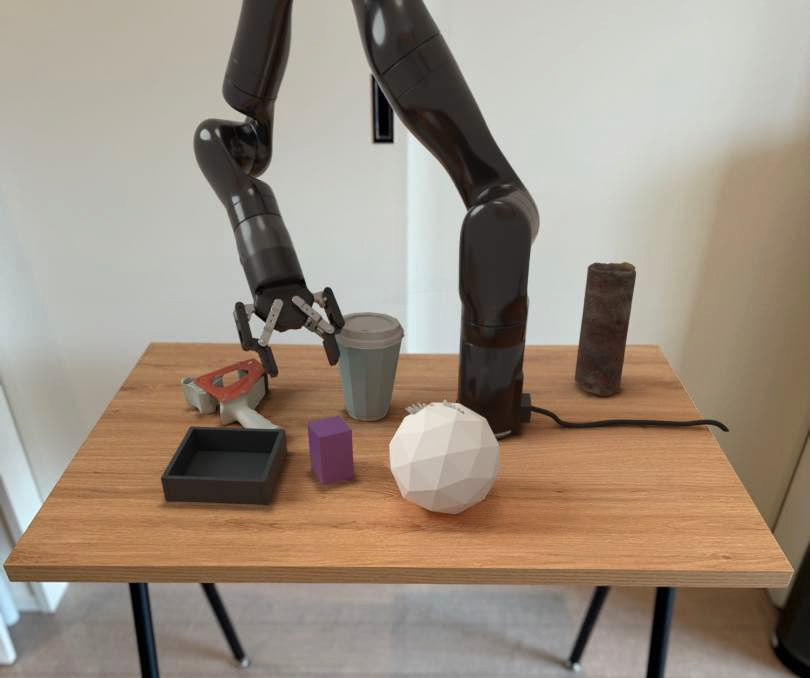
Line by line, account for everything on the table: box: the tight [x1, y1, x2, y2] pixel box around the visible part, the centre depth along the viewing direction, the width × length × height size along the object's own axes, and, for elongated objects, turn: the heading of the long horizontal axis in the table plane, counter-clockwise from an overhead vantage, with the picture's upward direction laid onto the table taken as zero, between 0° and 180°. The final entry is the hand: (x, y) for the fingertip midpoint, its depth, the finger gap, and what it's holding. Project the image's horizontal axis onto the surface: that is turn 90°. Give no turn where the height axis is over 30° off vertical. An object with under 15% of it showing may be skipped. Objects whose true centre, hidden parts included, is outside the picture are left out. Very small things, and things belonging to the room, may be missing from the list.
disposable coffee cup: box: [335, 311, 405, 422], centre depth 119 cm, size 11×11×15 cm
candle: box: [574, 261, 637, 397], centre depth 125 cm, size 8×7×20 cm
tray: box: [160, 425, 288, 506], centre depth 107 cm, size 13×13×4 cm
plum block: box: [306, 414, 355, 486], centre depth 106 cm, size 4×4×8 cm
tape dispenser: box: [180, 357, 284, 429], centre depth 121 cm, size 18×5×20 cm
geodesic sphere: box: [388, 399, 501, 515], centre depth 100 cm, size 15×14×14 cm
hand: (305, 369), depth 107 cm, fingers open, 8 cm apart
